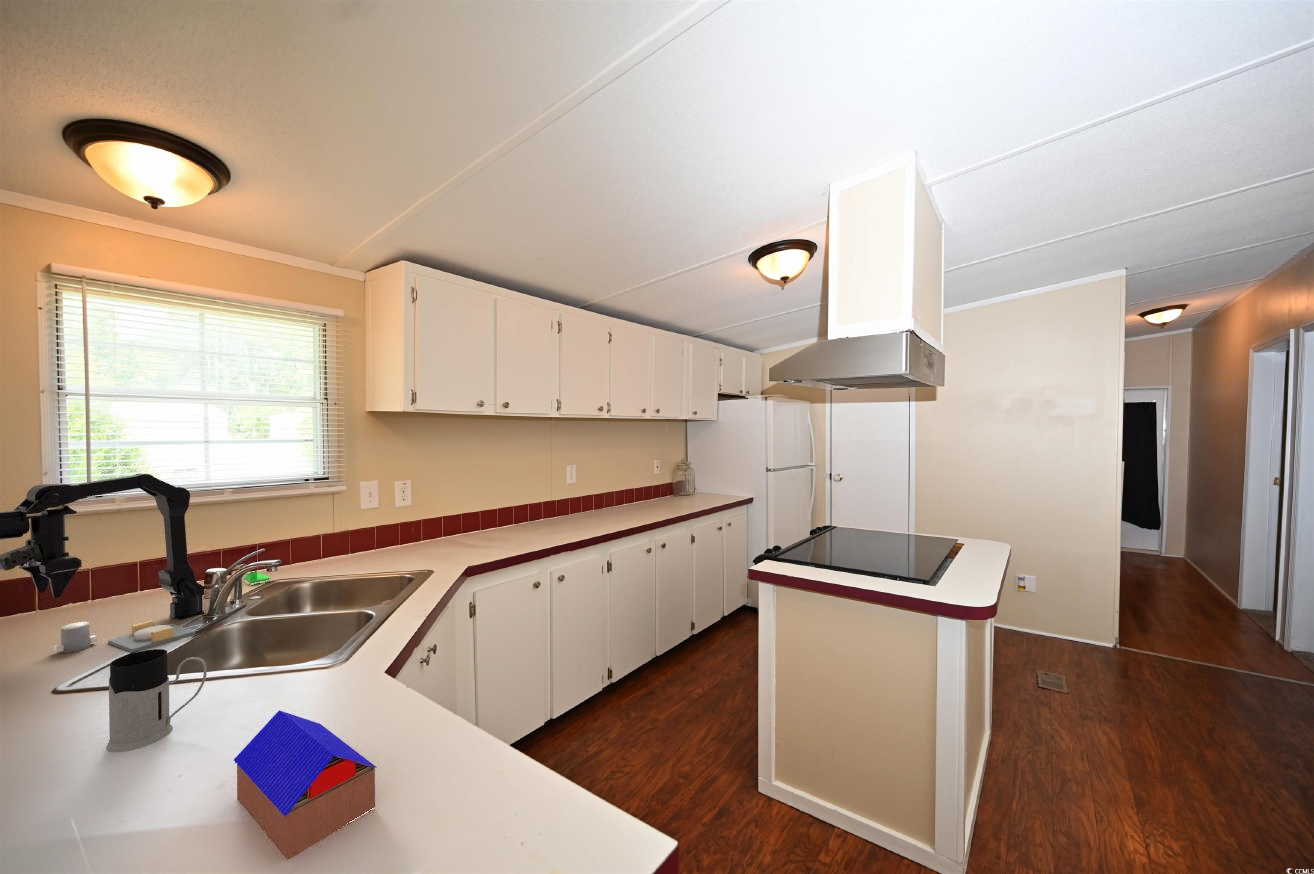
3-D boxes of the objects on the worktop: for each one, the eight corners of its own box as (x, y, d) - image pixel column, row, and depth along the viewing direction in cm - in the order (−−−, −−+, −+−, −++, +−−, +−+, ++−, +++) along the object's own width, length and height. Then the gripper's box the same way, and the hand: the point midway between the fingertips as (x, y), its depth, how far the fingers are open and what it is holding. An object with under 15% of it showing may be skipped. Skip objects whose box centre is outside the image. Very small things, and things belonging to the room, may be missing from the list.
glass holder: (123, 730, 98) (122, 651, 97) (216, 715, 103) (215, 640, 103) (93, 757, 90) (92, 672, 89) (196, 739, 95) (195, 658, 95)
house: (320, 761, 89) (319, 694, 89) (378, 811, 78) (378, 735, 77) (233, 802, 79) (233, 727, 79) (285, 866, 68) (284, 779, 68)
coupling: (91, 642, 137) (90, 618, 137) (99, 646, 135) (99, 621, 135) (51, 653, 131) (50, 628, 131) (59, 657, 129) (59, 631, 129)
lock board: (170, 626, 148) (170, 614, 148) (195, 634, 143) (195, 621, 143) (108, 644, 136) (107, 631, 136) (132, 653, 131) (132, 639, 131)
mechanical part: (270, 583, 191) (270, 561, 191) (250, 587, 186) (250, 565, 186) (259, 577, 198) (258, 556, 198) (239, 581, 193) (239, 559, 193)
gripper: (-17, 536, 128) (-16, 599, 128) (13, 543, 120) (14, 610, 120) (50, 528, 138) (51, 586, 138) (82, 534, 130) (83, 596, 130)
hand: (49, 594), depth 131 cm, fingers open, 9 cm apart
